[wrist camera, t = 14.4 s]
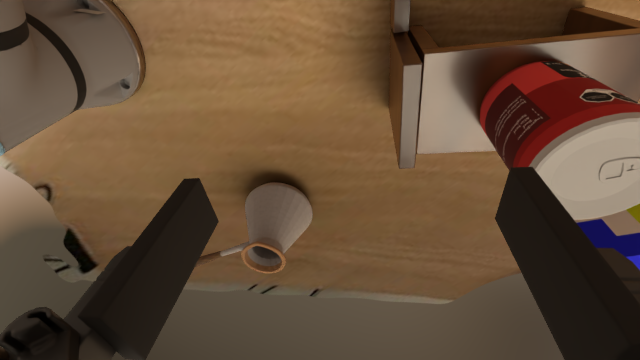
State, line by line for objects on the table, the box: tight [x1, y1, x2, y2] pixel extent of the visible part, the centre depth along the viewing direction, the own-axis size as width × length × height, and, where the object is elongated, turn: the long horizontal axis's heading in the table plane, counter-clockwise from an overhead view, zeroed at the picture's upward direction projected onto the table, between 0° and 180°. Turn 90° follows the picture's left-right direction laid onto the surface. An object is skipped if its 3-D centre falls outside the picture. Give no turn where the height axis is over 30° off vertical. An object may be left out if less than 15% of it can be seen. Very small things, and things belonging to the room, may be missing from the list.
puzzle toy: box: [575, 203, 640, 270], centre depth 44 cm, size 10×10×10 cm
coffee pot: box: [195, 182, 313, 273], centre depth 48 cm, size 21×12×15 cm, turn 100°
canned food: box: [480, 61, 640, 220], centre depth 23 cm, size 8×8×11 cm
